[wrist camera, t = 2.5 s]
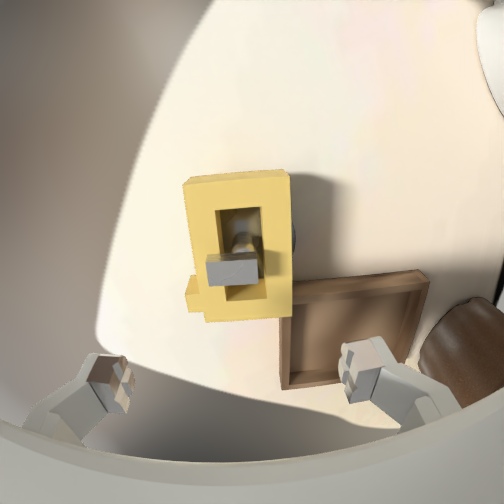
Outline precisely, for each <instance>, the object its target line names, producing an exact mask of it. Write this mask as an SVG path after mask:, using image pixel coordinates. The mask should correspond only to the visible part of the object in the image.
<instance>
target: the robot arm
mask: <svg viewBox="0 0 504 504" xmlns="http://www.w3.org/2000/svg"><path fill="white" fill-rule="evenodd" d="M476 37H477V46H478V52H479V56H480V61H481V64H482V68H483V71H484V74H485V77H486V80H487V83H488V86H489V88H490V91H491V93H492V95H493V97H494V100H495V102H496V104H497V106H498V107H499V109H500V111H501V113H502V114H503V116H504V0H495V2H494V5H493V6H491V7H488V8H485V9H484V10H483V11H482V12H481V13H480V15H479V17H478V20H477V26H476ZM341 353H342V355H343V356H342V357H341V358H340V359H339V364H338V371H339V377H340V380H341V382H342V383H343V384H345V385H346V387H345V393H346V396H347V399H348V401H349V404H351V403H357V402H362V401H367V400H370V401H371V402H372V403H374V404H375V405H376V406H377V407H379V408H380V409H381V410H382V411H384V412H385V413H386V414H388V415H389V416H390V417H391V418H393V419H394V420H395V421H396V422H398V423H399V424H400V425H402V426H401V428H400V429H399V431H398V433H397V434H396V435H394V436H391V437H388V438H385V439H381V440H378V441H374V442H370V443H367V444H363V445H359V446H355V447H350V448H346V449H341V450H337V451H332V452H326V453H321V454H315V455H309V456H302V457H296V458H287V459H278V460H268V461H255V462H234V463H200V462H177V461H165V460H155V459H146V458H138V457H131V456H125V455H118V454H113V453H108V452H103V451H98V450H94V449H89V448H87V447H86V446H85V445H84V444H83V443H82V442H81V440H82V439H83V438H84V437H85V436H86V435H87V434H88V433H89V432H90V431H91V430H92V429H93V428H94V427H95V426H96V425H97V424H98V423H99V422H100V421H101V420H102V419H103V418H104V417H105V416H106V415H107V414H108V413H118V414H127V410H128V407H129V404H130V400H129V398H128V397H129V396H130V395H131V394H132V393H133V390H134V386H135V379H134V375H133V373H132V371H131V370H130V369H129V368H128V367H127V364H128V361H127V359H126V357H125V356H123V355H112V354H98V353H90V354H88V356H87V358H86V359H85V361H84V363H83V365H82V367H81V369H80V371H79V373H78V375H77V377H76V379H75V380H71V381H69V382H68V383H66V384H65V385H64V386H62V387H60V388H59V389H57V390H56V391H55V392H53V393H52V394H50V395H49V396H47V397H46V398H44V399H43V400H41V401H40V402H38V403H37V404H35V405H34V406H33V407H32V409H31V410H30V412H29V414H28V416H27V418H26V420H25V422H24V424H23V426H22V428H21V427H18V426H16V425H13V424H11V423H9V422H6V421H4V420H1V419H0V504H504V387H503V388H501V389H499V390H498V391H496V392H494V393H492V394H491V395H489V396H487V397H485V398H483V399H481V400H479V401H477V402H475V403H473V404H471V405H469V406H467V407H465V408H463V409H462V408H461V407H460V405H459V403H458V402H457V400H456V399H455V397H454V395H453V394H452V392H451V391H450V389H449V388H448V387H447V386H445V385H443V384H441V383H439V382H437V381H435V380H434V379H432V378H430V377H428V376H426V375H424V374H422V373H420V372H418V371H416V370H414V369H412V368H410V367H409V366H407V365H405V364H403V363H397V361H396V359H395V358H394V356H393V354H392V353H391V351H390V350H389V348H388V346H387V345H386V343H385V341H384V340H383V338H382V337H381V336H377V337H372V338H368V339H362V340H356V341H350V342H345V343H343V344H342V346H341Z"/></svg>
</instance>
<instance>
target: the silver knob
mask: <svg viewBox="0 0 504 504" xmlns="http://www.w3.org/2000/svg"><path fill="white" fill-rule="evenodd" d="M220 219H221V227H222V236H223V245H224V253H223V254H209V255H207V258H206V262H205V264H206V271H207V278H208V284H209V287H212V286H229V285H245V284H258V279H264V262H263V246H262V230H261V214H260V207H247V208H235V209H223V210H220ZM291 233H292V255H293V252H294V248H295V231H294V226H293V224H292V221H291Z"/></svg>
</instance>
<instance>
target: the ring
mask: <svg viewBox="0 0 504 504" xmlns="http://www.w3.org/2000/svg"><path fill="white" fill-rule="evenodd" d="M183 192H184V200H185V207H186V214H187V220H188V227H189V233H190V240H191V246H192V252H193V258H194V264H195V269H196V275H191V276H190V279H189V283H188V286H187V289H186V292H185V298H186V303H187V307H188V312H204V317H205V322H225V321H241V320H255V319H267V318H279V317H290V316H292V233H291V198H290V176H289V175H288V174H287V173H286V172H285V171H284V169H278V170H262V171H248V172H235V173H224V174H214V175H204V176H195V177H190V178H189V179H188V180H187V181H186V182H185V183H184V184H183ZM247 207H260V214H261V230H262V246H263V262H264V279H258V284H245V285H229V286H212V287H209V284H208V278H207V271H206V264H205V262H206V258H207V255H209V254H223V253H224V245H223V236H222V227H221V219H220V210H223V209H235V208H247Z"/></svg>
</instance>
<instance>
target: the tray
mask: <svg viewBox="0 0 504 504" xmlns="http://www.w3.org/2000/svg"><path fill="white" fill-rule="evenodd" d="M429 284H430V281H429V280H428V279H427V278H426V277H425V276H424V275H423V274H422V273H421V272H420V271H419V270H410V271H401V272H392V273H383V274H373V275H363V276H353V277H342V278H332V279H320V280H309V281H296V282H292V316H290V317H279V375H280V382H281V389H282V390H289V389H299V388H307V387H315V386H322V385H329V384H336V383H342V382H341V380H340V377H339V371H338V364H339V359H340V358H341V357H342V356H343V355H342V353H341V346H342V344H343V343H345V342H350V341H356V340H362V339H368V338H372V337H377V336H381V337H382V338H383V340H384V341H385V343H386V345H387V346H388V348H389V350H390V351H391V353H392V354H393V356H394V358H395V359H396V361H397V363H403V364H404V363H405V360H406V358H407V355H408V352H409V350H410V347H411V344H412V341H413V338H414V335H415V332H416V329H417V326H418V323H419V320H420V316H421V313H422V310H423V306H424V303H425V299H426V295H427V292H428V288H429Z"/></svg>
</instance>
